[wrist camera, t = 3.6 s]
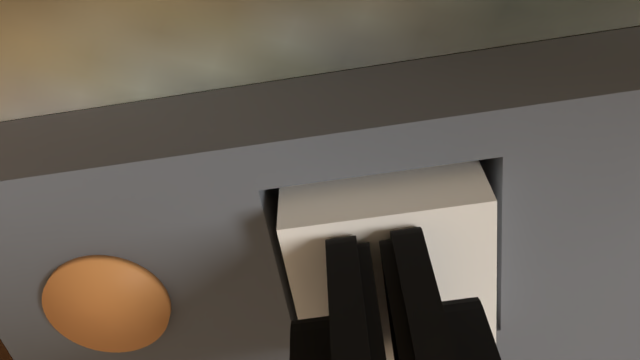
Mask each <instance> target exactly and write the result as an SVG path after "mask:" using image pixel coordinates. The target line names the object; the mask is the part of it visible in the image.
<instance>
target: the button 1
mask: <svg viewBox="0 0 640 360" xmlns="http://www.w3.org/2000/svg"><path fill="white" fill-rule="evenodd" d="M414 227H421V228H422V231H423V234H424V238H425V242H426V245H427V249H428V253H429V256H430V260H431V264H432V267H433V271H434V275H435V279H436V282H437V286H438V290H439V293H440V297H441V301H449V300H456V299H464V298H472V297H478V298H479V299H480V301H481V303H482V306H483V308H484V311H485V314H486V317H487V320H488V323H489V325H490V328H491V331H492V334H493V337H494V340H495V343H496V305H497V199H496V197H495V195H494V193H493V191H492V188H491V186H490V184H489V182H488V180H487V177H486V175H485V173H484V171H483V169H482V166H481V164H480V162H479V160H477V161H469V162H462V163H455V164H448V165H440V166H433V167H426V168H419V169H412V170H404V171H397V172H390V173H383V174H375V175H368V176H361V177H354V178H346V179H339V180H332V181H325V182H317V183H310V184H303V185H296V186H288V187H281V188H279V199H278V213H277V228H276V231H277V235H278V239H279V243H280V247H281V252H282V256H283V260H284V264H285V268H286V272H287V276H288V280H289V285H290V289H291V293H292V297H293V301H294V305H295V309H296V314H297V318H298V320H300V319H308V318H316V317H323V316H329V307H328V288H327V268H326V249H325V240H326V239H333V238H341V237H348V236H355V235H356V239H357V244H358V243H366V242H369V244H370V251H371V258H372V265H373V271H374V278H375V285H376V292H377V299H378V305H379V312H380V319H381V326H382V333H383V339H384V346H385V353H386V360H394V355H393V348H392V340H391V332H390V324H389V316H388V309H387V301H386V293H385V285H384V277H383V270H382V262H381V254H380V246H379V241H381V240H388V239H391V238H390V231H392V230H400V229H407V228H414Z"/></svg>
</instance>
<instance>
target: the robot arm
mask: <svg viewBox="0 0 640 360" xmlns="http://www.w3.org/2000/svg"><path fill="white" fill-rule="evenodd" d="M390 238H391V239H388V240H381V241H379V246H380V254H381V262H382V270H383V277H384V285H385V293H386V301H387V309H388V316H389V324H390V332H391V340H392V348H393V355H394V360H501V357H500V354H499V351H498V349H497V346H496V343H495V340H494V337H493V334H492V331H491V328H490V325H489V323H488V320H487V317H486V314H485V311H484V308H483V306H482V303H481V301H480V299H479V298H478V297H472V298H464V299H456V300H449V301H441V297H440V293H439V290H438V286H437V282H436V279H435V275H434V271H433V267H432V264H431V260H430V256H429V253H428V249H427V245H426V242H425V238H424V234H423V231H422V228H421V227H414V228H407V229H400V230H392V231H390ZM325 249H326V268H327V288H328V307H329V316H323V317H316V318H308V319H300V320H292V321H291V326H290V358H289V360H386V353H385V346H384V339H383V333H382V326H381V319H380V312H379V305H378V299H377V292H376V285H375V278H374V271H373V265H372V258H371V251H370V244H369V242H366V243H358V244H357V239H356V235H355V236H348V237H341V238H333V239H326V240H325Z"/></svg>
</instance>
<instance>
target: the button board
mask: <svg viewBox="0 0 640 360" xmlns="http://www.w3.org/2000/svg"><path fill="white" fill-rule="evenodd" d="M477 160H479V162H480V164H481V166H482V169H483V171H484V173H485V175H486V177H487V180H488V182H489V184H490V186H491V188H492V191H493V193H494V195H495V197H496V199H497V305H496V346H497V349H498V351H499V354H500V357H501V360H640V26H638V27H631V28H625V29H618V30H611V31H605V32H598V33H591V34H585V35H578V36H571V37H565V38H558V39H551V40H545V41H538V42H531V43H525V44H518V45H511V46H505V47H498V48H491V49H485V50H478V51H471V52H465V53H458V54H451V55H445V56H438V57H431V58H425V59H418V60H411V61H405V62H398V63H391V64H385V65H378V66H371V67H365V68H358V69H351V70H345V71H338V72H331V73H325V74H318V75H311V76H305V77H298V78H291V79H285V80H278V81H271V82H265V83H258V84H251V85H245V86H238V87H231V88H225V89H218V90H211V91H205V92H198V93H191V94H185V95H178V96H171V97H165V98H158V99H151V100H145V101H138V102H131V103H125V104H118V105H111V106H105V107H98V108H91V109H85V110H78V111H71V112H65V113H58V114H51V115H45V116H38V117H31V118H25V119H18V120H11V121H5V122H0V339H1V341H2V342H3V344H4V346H5V347H6V349H7V350H8V352H9V353H10V355H11V357H12V358H13V360H289V358H290V326H291V321H292V320H298V318H297V314H296V309H295V305H294V301H293V297H292V293H291V289H290V285H289V280H288V276H287V272H286V268H285V264H284V260H283V256H282V252H281V247H280V243H279V239H278V235H277V231H276V228H277V213H278V199H279V188H281V187H288V186H296V185H303V184H310V183H317V182H325V181H332V180H339V179H346V178H354V177H361V176H368V175H375V174H383V173H390V172H397V171H404V170H412V169H419V168H426V167H433V166H440V165H448V164H455V163H462V162H469V161H477Z"/></svg>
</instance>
